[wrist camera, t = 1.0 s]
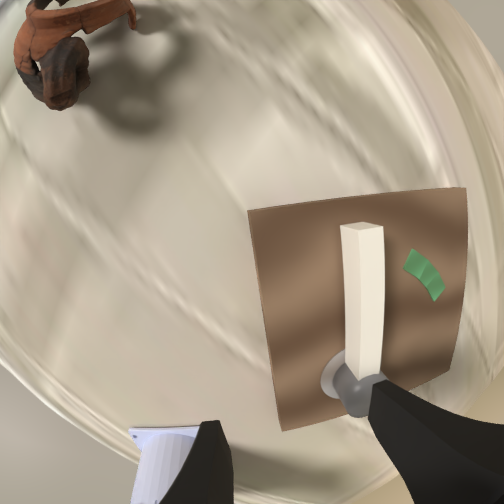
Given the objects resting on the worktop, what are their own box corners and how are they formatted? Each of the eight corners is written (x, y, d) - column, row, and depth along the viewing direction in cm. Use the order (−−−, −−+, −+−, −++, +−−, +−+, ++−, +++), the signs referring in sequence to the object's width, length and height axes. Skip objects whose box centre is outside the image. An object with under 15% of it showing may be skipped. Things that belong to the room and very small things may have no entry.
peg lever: (372, 385, 19) (389, 407, 16) (332, 398, 19) (345, 423, 16) (376, 219, 16) (403, 225, 13) (324, 227, 16) (346, 234, 13)
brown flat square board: (441, 363, 22) (450, 371, 21) (278, 420, 21) (282, 433, 19) (454, 187, 18) (467, 187, 17) (247, 210, 17) (249, 212, 16)
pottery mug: (26, 62, 13) (20, -9, 6) (120, 36, 17) (136, -34, 10) (22, 162, 12) (-14, 76, 5) (147, 121, 17) (171, 27, 10)
